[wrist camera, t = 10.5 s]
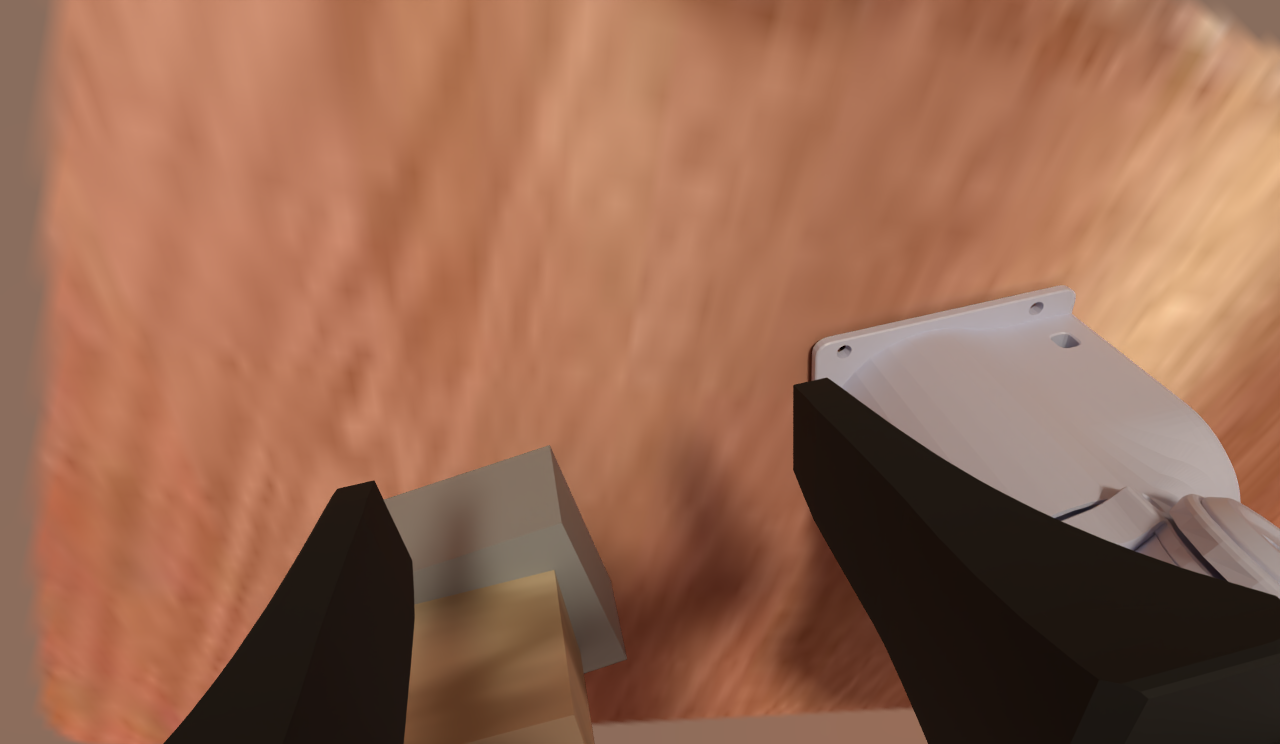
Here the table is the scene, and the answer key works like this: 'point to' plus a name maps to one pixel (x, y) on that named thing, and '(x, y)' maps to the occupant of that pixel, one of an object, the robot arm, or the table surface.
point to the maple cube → (497, 668)
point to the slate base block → (511, 543)
